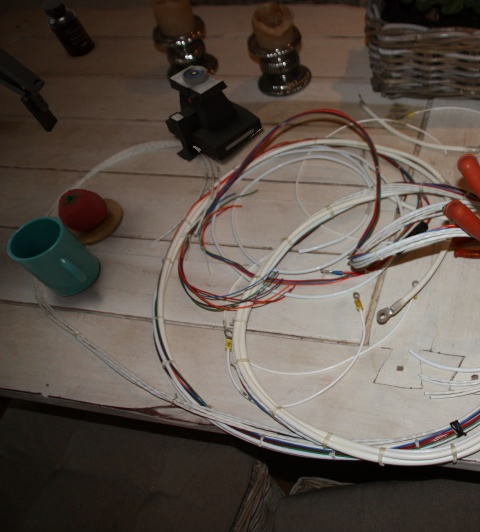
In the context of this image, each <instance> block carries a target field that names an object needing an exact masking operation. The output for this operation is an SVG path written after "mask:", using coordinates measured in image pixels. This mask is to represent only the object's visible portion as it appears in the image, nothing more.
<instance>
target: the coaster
mask: <svg viewBox="0 0 480 532" xmlns="http://www.w3.org/2000/svg"><path fill="white" fill-rule="evenodd" d="M102 198H103V200H104V201H105V203H106V205H107V216H106V217H105V219H104V220H103V221H102V222H101V223H99V224H98V225H97V226H95V227H94V228H92V229H91V230H88V231H84V232H82V231H74V230H71V229H69V228H68V227H67V228H68V229H69V230H70V231H71V232H72V233H73V234H74V235H75V236H76V237H77V238H78V239H79V240H80V241H81V242H82V243H83V244H84V245H85V246H89V245H93V244H96V243H99V242H101V241H103V240H105V239H107V238H108V237H110V236H111V235H112V234H113V233H115V231H116V230H117V229H118V228H119V227H120V225H121V223H122V221H123V217H124V211H123V208H122V206H121V205H120V203H119V202H118V201H116V200H114V199H112V198H108V197H106V198H105V197H102Z"/></svg>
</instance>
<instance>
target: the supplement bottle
mask: <svg viewBox="0 0 480 532" xmlns="http://www.w3.org/2000/svg"><path fill="white" fill-rule="evenodd" d="M41 9H42V11H43V12H44V14H45V15H46V25H48V27H49V29H50V30H51V31H52V33H53V34H54V36H55V37H56V39H57V41H58V42H59V43H60V45H61V46H62V48H63V49H64V50H65V52H66V53H67V54H68V55H69V56H72V57H78V56H79V57H80V56H83V55H85V54H87V53H89V52H90V51H91V50H92V49H93V48H94V41H93V39H92V38H91V36H90V35H89V33H88V32H87V30H86V28H85V27H84V24H83V23H82V22H81V20H80V19H79V17H78V16H77V14H76V13H75V12H74V11H73V10H72V9H71V8H67V6H66V4H65V3H64V1H63V0H47V1H45V2H44V3H43V4H42V5H41Z"/></svg>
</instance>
